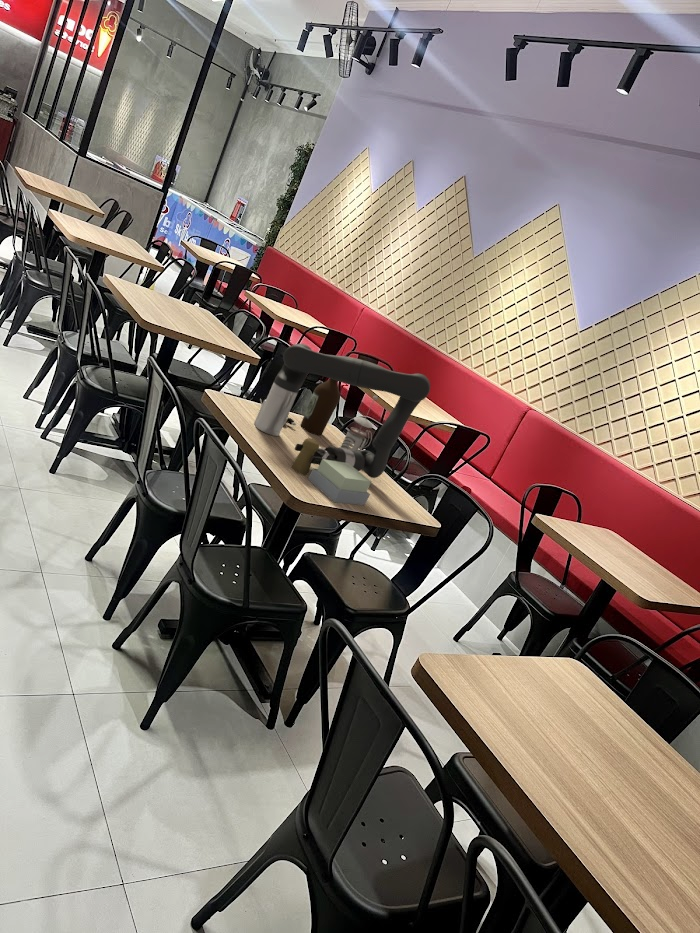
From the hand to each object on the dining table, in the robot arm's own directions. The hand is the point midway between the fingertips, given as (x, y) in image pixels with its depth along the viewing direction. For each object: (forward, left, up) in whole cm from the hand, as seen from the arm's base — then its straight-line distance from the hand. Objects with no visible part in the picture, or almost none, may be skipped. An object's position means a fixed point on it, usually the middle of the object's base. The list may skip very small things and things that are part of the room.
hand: (303, 453), depth 222 cm
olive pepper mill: (0, +1, -6) cm, 6 cm away
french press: (-21, +44, -6) cm, 49 cm away
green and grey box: (+13, +7, -6) cm, 16 cm away
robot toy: (-46, +24, -6) cm, 52 cm away
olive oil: (-41, +39, -6) cm, 57 cm away
